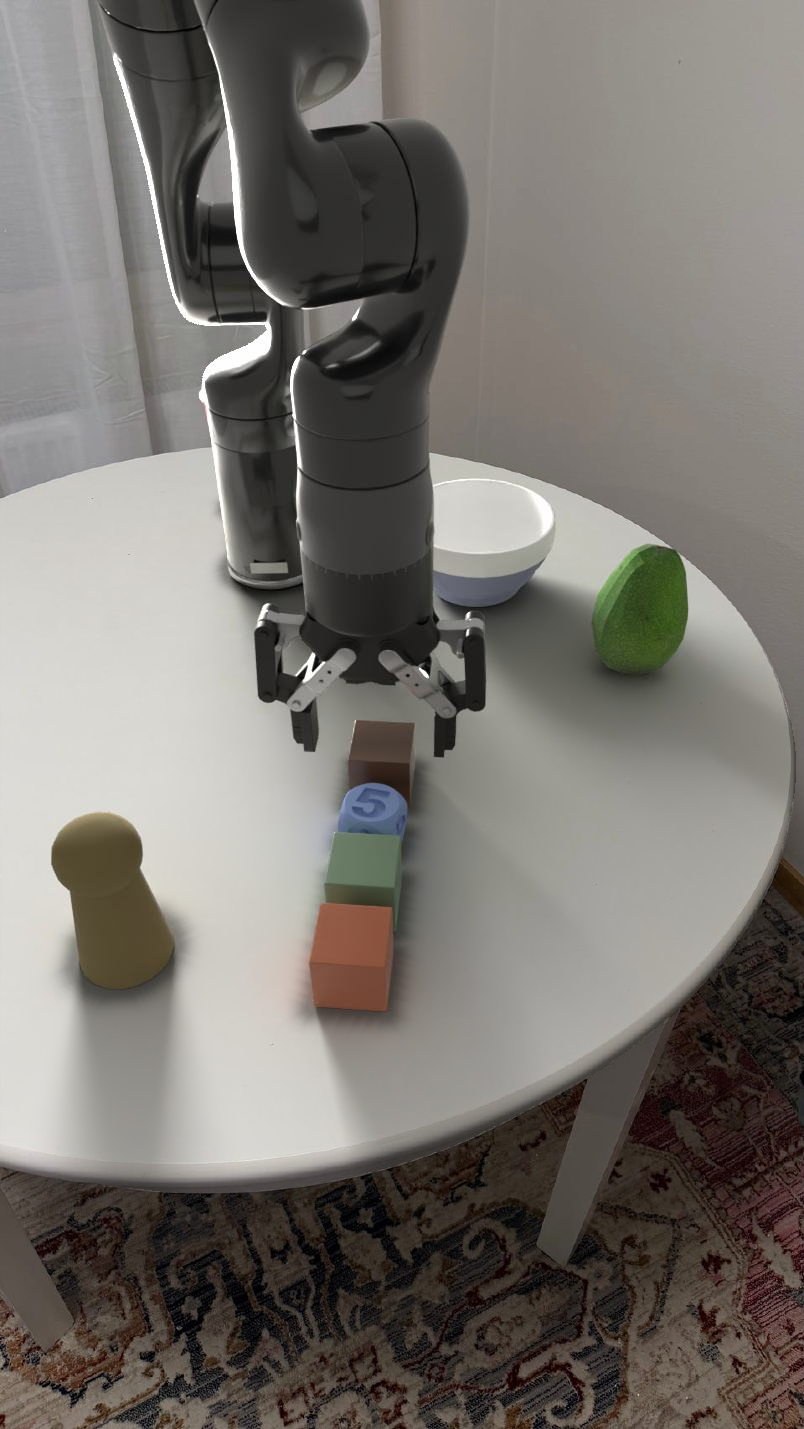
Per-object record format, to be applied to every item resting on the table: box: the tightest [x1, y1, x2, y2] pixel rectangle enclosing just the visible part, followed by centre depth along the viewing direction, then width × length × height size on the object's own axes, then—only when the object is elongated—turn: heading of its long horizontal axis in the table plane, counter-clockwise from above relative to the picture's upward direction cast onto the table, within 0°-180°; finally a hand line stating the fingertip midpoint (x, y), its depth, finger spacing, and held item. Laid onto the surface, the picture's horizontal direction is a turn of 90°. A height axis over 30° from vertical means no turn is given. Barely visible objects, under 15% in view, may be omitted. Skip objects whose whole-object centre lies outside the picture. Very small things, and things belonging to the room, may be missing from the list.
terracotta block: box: [308, 902, 395, 1013], centre depth 62 cm, size 4×4×4 cm
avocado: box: [591, 543, 689, 675], centre depth 84 cm, size 8×8×12 cm
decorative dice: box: [336, 783, 408, 844], centre depth 71 cm, size 4×4×4 cm
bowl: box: [432, 478, 557, 608], centre depth 95 cm, size 14×14×8 cm
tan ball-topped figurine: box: [50, 811, 175, 990], centre depth 62 cm, size 6×6×11 cm
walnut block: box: [347, 719, 416, 808], centre depth 75 cm, size 4×4×4 cm
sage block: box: [323, 831, 403, 933], centre depth 66 cm, size 4×4×4 cm
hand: (375, 746), depth 67 cm, fingers open, 8 cm apart
